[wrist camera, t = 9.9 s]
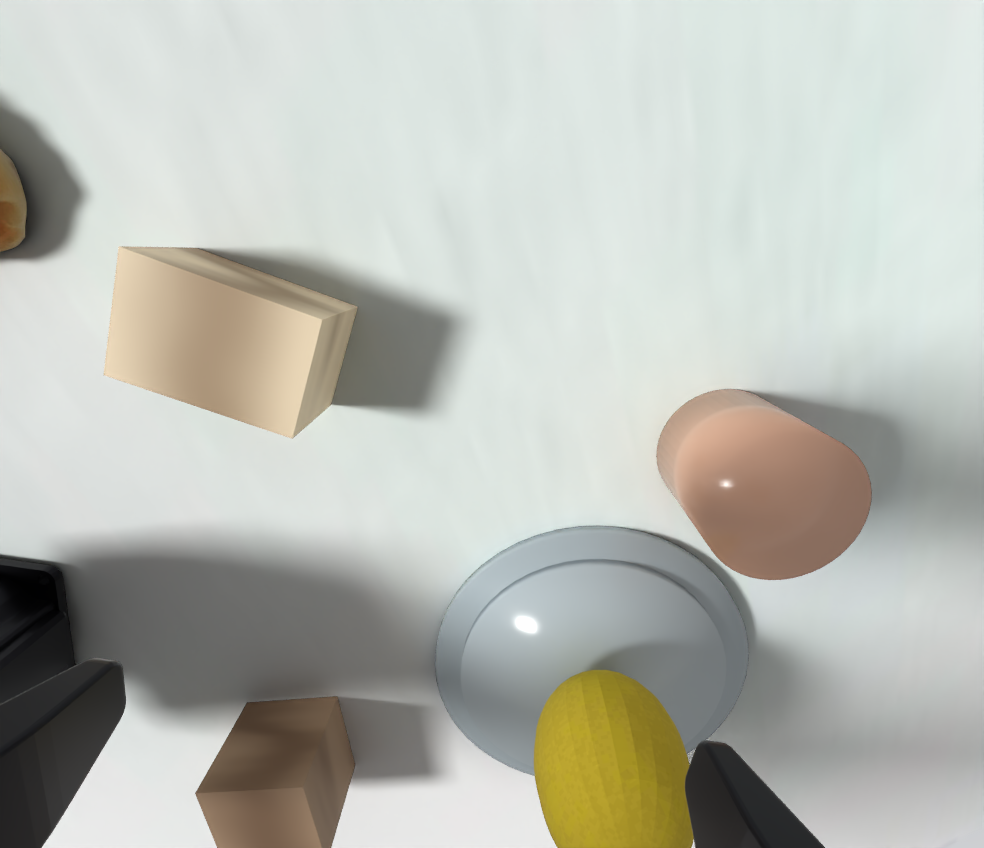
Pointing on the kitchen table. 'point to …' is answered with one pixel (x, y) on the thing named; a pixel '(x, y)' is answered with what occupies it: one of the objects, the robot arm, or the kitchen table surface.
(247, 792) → the walnut block
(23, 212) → the pastry
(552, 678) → the plate
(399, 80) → the kitchen table surface
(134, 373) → the beech block
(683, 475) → the pink cylinder
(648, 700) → the lemon
